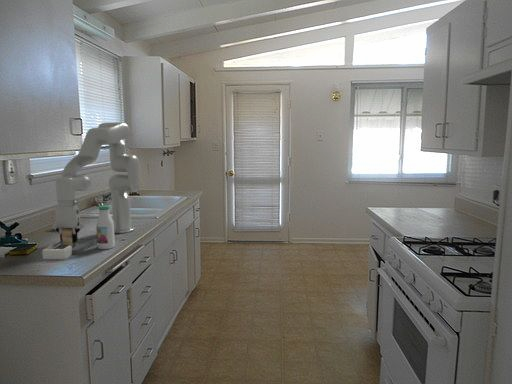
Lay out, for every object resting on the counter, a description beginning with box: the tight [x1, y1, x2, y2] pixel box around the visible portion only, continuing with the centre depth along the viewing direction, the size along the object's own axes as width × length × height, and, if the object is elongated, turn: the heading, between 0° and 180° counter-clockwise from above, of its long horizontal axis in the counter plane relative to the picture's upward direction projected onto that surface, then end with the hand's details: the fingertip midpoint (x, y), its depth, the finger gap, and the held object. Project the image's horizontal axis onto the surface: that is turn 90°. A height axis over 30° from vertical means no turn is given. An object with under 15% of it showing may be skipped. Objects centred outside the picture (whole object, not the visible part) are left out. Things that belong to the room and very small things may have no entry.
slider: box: [61, 228, 76, 246], centre depth 181 cm, size 4×5×8 cm
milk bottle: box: [95, 204, 116, 250], centre depth 184 cm, size 8×8×20 cm
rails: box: [53, 244, 79, 249], centre depth 178 cm, size 8×9×1 cm
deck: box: [52, 240, 94, 255], centre depth 182 cm, size 16×15×2 cm
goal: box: [42, 245, 73, 260], centre depth 171 cm, size 7×9×4 cm
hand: (69, 241), depth 182 cm, fingers closed on slider, 4 cm apart
